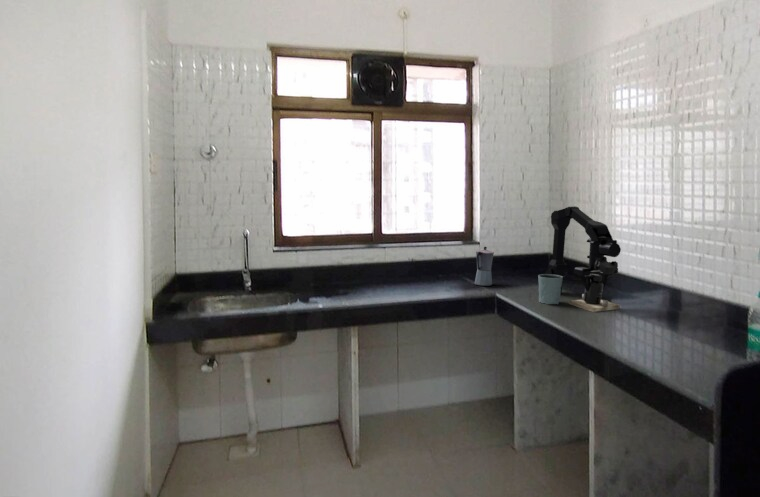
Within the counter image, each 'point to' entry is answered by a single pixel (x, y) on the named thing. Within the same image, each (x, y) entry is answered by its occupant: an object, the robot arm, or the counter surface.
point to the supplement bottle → (594, 290)
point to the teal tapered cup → (549, 288)
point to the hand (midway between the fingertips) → (595, 290)
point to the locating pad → (595, 305)
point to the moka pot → (484, 267)
